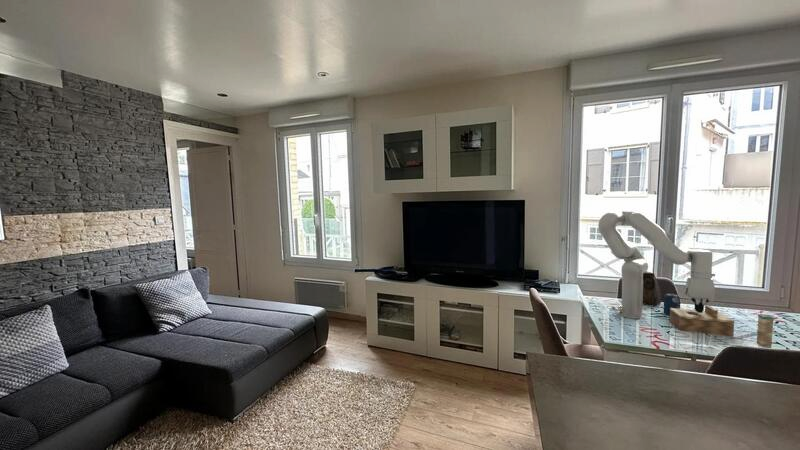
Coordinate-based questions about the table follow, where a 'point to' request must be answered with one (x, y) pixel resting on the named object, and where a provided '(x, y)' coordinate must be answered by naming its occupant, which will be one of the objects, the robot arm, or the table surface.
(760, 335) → the block
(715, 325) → the wooden box with slot
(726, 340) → the table surface
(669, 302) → the soda can
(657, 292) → the owl
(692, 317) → the lid
